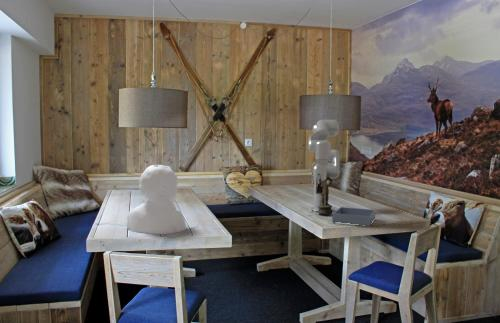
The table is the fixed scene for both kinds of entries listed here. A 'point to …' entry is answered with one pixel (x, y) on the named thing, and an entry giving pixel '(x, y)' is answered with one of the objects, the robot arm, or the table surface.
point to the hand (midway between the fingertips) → (320, 191)
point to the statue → (325, 208)
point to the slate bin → (354, 216)
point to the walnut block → (322, 188)
